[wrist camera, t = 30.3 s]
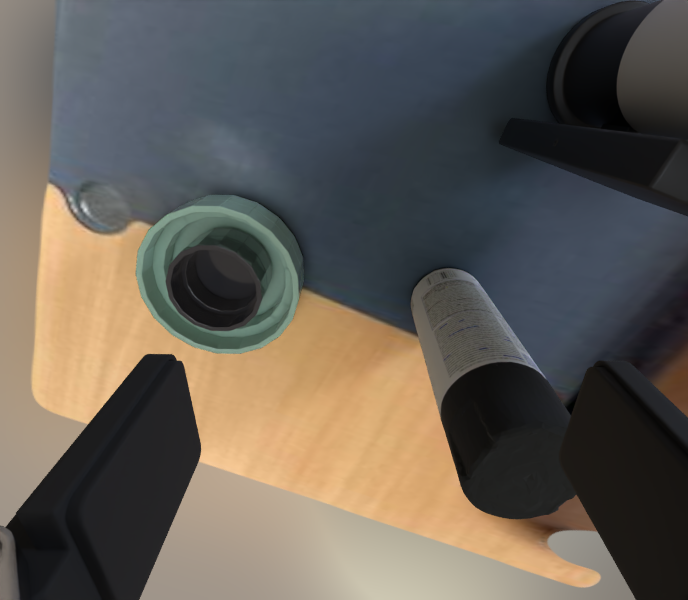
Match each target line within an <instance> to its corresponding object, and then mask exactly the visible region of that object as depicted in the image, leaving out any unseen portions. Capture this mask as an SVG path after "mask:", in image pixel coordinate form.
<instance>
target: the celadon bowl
mask: <svg viewBox="0 0 688 600" xmlns="http://www.w3.org/2000/svg"><path fill="white" fill-rule="evenodd" d="M214 228H234V229H236V230H239V231H241V232H244V233H246V234H249V235H250V236H252V237H253V238H254V239H255V240H256V241H257V242H258V243H259V244H261V245H262V246H263V248H264V249H265V251H266V253H267V255H268V257H269V259H270V261H271V268H272V279H271V282H270V285H269V288H268V290H267V293H266V295H265V297H264V299H263V301H262V304H261V306H260V308H259V310H258V313H257V314H256V316H255V317H254V318H252V319H251V320H250V321H249V322H248V323H247V324H246V325H245V326H242V327H240V328H237V329H234V330H231V331H210V330H207V329H204V328H201V327H199V326H196V325H193V324H192V323H191V322H190V321H188V320H187V319H186V318H184V317H183V316H182V315H180V314H179V313H178V311H177V310H176V308H175V307H174V305H173V304H172V302H171V301H170V299H169V296H168V291H167V287H166V276H167V272H168V268H169V265H170V263H171V262H172V261H173V260H174V259H175V258H176V256H177V255H178V254H179V253H180V252H181V251H182V250H183V249H184V248H186V247H187V246H188V245H189V244H190V243H191V242H192V241H194V240H195V239H196V238H197V237H198V236H199V235H201V234H203V233H205V232H207V231H210V230H212V229H214ZM136 277H137V281H138V285H139V289H140V293H141V297H142V299H143V300H144V302H145V304H146V305H147V307H148V309H149V310H150V312H151V314H152V315H153V317H154V318H155V319H156V320H157V321H158V322H159V323H160V324H161V325H162V326H163V327H164V328H165V329H166V330H167V331H168V332H169V333H170V334H172V335H173V336H175V337H177V338H178V339H180V340H182V341H184V342H185V343H187V344H189V345H191V346H193V347H195V348H199V349H203V350H206V351H210V352H213V353H226V354H241V353H244V352H248V351H252V350H256V349H259V348H262V347H264V346H265V345H267V344H268V343H270V342H271V341H273V340H275V339H276V338H278V337H279V336H280V335H281V334H282V333H283V331H284V330H285V329H286V327H287V326H288V325H289V324H290V322H291V321H292V319H293V317H294V314H295V310H296V307H297V304H298V301H299V297H300V294H301V290H302V286H303V283H304V263H303V257H302V254H301V251H300V249H299V246H298V244H297V241H296V239H295V237H294V235H293V234H292V233H291V231H290V230H289V229H288V228H287V226H286V225H285V224H284V223H283V221H282V220H281V219H280V218H279V217H278V216H276V215H275V214H273V213H272V212H270V211H269V210H267V209H266V208H265V207H263V206H262V205H260V204H258V203H257V202H254V201H251V200H247V199H244V198H241V197H238V196H235V195H207V196H204V197H201V198H198V199H195V200H192V201H189V202H187V203H185V204H183V205H182V206H180V207H179V208H177V209H175V210H174V211H172V212H170V213H169V214H167V215H166V216H165V217H163V218H162V219H161V220H160V221H159V222H157V223H156V224H155V225H154V226H153V227H151V228H150V229H149V230H148V232H147V234H146V236H145V238H144V240H143V242H142V244H141V246H140V248H139V249H138V255H137V265H136Z"/></svg>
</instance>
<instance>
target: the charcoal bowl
mask: <svg viewBox="0 0 688 600" xmlns="http://www.w3.org/2000/svg"><path fill="white" fill-rule="evenodd" d="M271 279H272V268H271V261H270V259H269V257H268V255H267V253H266V251H265V249H264V248H263V246H262V245H261V244H259V243H258V242H257V241H256V240H255V239H254V238H253V237H252V236H250V235H249V234H246V233H244V232H241V231H239V230H236V229H234V228H214V229H212V230H210V231H207V232H205V233H203V234H201V235H199V236H198V237H197V238H196V239H195V240H194V241H192V242H191V243H190V244H189V245H188V246H187V247H186V248H184V249H183V250H182V251H181V252H180V253H179V254H178V255H177V256H176V258H175V259H174V260H173V261H172V262H171V263H170V265H169V268H168V272H167V276H166V287H167V291H168V296H169V299H170V301H171V302H172V304H173V305H174V307H175V308H176V310H177V311H178V313H179V314H180V315H182V316H183V317H184V318H186V319H187V320H188V321H190V322H191V323H192V324H193V325H196V326H199V327H201V328H204V329H207V330H210V331H231V330H234V329H237V328H240V327H242V326H245V325H246V324H247V323H248V322H249V321H250V320H251V319H252V318H254V317H255V316H256V314H257V313H258V310H259V308H260V306H261V304H262V301H263V299H264V297H265V295H266V293H267V290H268V288H269V285H270V282H271Z"/></svg>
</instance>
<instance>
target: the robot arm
mask: <svg viewBox="0 0 688 600" xmlns="http://www.w3.org/2000/svg"><path fill="white" fill-rule="evenodd" d="M200 454H201V443H200V439H199V434H198V429H197V425H196V420H195V415H194V411H193V406H192V401H191V397H190V392H189V387H188V383H187V378H186V373H185V369H184V365H183V363H182V361H177V360H176V358H175V356H174V355H172V354H147V355H145V356H144V357H143V358H142V359H141V360H140V362H139V363H138V364H137V365H136V367H135V368H134V369H133V370H132V372H131V373H130V374H129V375H128V376H127V378H126V379H125V380H124V381H123V383H122V384H121V385H120V386H119V387H118V389H117V390H116V391H115V392H114V394H113V395H112V396H111V397H110V398H109V400H108V401H107V402H106V403H105V405H104V406H103V407H102V408H101V409H100V411H99V412H98V413H97V414H96V416H95V417H94V418H93V419H92V420H91V422H90V423H89V424H88V425H87V427H86V428H85V429H84V430H83V431H82V433H81V434H80V435H79V436H78V438H77V439H76V440H75V441H74V443H73V444H72V445H71V446H70V448H69V449H68V450H67V451H66V452H65V453H64V455H63V456H62V457H61V458H60V460H59V461H58V462H57V463H56V465H55V466H54V467H53V468H52V469H51V471H50V472H49V473H48V474H47V476H46V477H45V478H44V479H43V480H42V482H41V483H40V484H39V485H38V487H37V488H36V489H35V490H34V491H33V493H32V494H31V495H30V497H29V498H28V499H27V500H26V501H25V502H24V504H23V505H22V506H21V507H20V509H19V510H18V511H17V512H16V515H15V516H14V517H13V519H12V520H11V521H10V522H9V524H8V525H7V526H6V527H4V526H0V600H139V599H140V597H141V594H142V592H143V590H144V587H145V585H146V582H147V580H148V578H149V575H150V573H151V571H152V569H153V566H154V564H155V562H156V559H157V557H158V555H159V552H160V550H161V547H162V545H163V543H164V541H165V538H166V536H167V534H168V531H169V529H170V527H171V524H172V522H173V519H174V517H175V515H176V513H177V510H178V508H179V506H180V503H181V501H182V498H183V496H184V494H185V492H186V489H187V487H188V485H189V482H190V480H191V478H192V475H193V473H194V471H195V468H196V466H197V464H198V461H199V459H200ZM559 461H560V465H561V467H562V469H563V471H564V473H565V475H566V476H567V478H568V480H569V482H570V483H571V485H572V487H573V489H574V491H575V492H576V494H577V496H578V498H579V499H580V501H581V503H582V505H583V506H584V508H585V510H586V512H587V514H588V515H589V517H590V519H591V521H592V522H593V524H594V526H595V528H596V530H597V531H598V533H599V535H600V537H601V538H602V540H603V542H604V544H605V545H606V547H607V549H608V551H609V552H610V554H611V556H612V557H613V560H614V561H615V563H616V565H617V567H618V569H619V570H620V572H621V574H622V576H623V577H624V579H625V581H626V582H627V584H628V586H629V588H630V590H631V591H632V593H633V595H634V597H635V599H636V600H688V418H687V417H686V416H685V415H684V414H683V413H682V412H681V411H680V410H679V409H678V408H677V407H676V406H675V405H674V404H673V403H672V402H671V401H670V400H669V399H668V398H667V397H665V396H664V395H663V394H662V393H661V392H660V391H659V390H658V389H657V388H656V387H655V386H654V385H653V384H652V383H651V382H650V381H649V380H648V379H647V378H646V377H644V376H643V375H642V374H641V373H640V372H639V371H638V370H637V369H636V368H635V367H634V366H633V365H632V364H630V363H629V362H626V361H598V362H596V363H595V364H594V366H593V367H590V368H588V369H587V371H586V373H585V376H584V379H583V382H582V385H581V388H580V391H579V394H578V397H577V400H576V403H575V406H574V409H573V412H572V415H571V418H570V421H569V424H568V427H567V430H566V433H565V436H564V439H563V442H562V445H561V448H560V452H559Z"/></svg>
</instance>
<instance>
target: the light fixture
mask: <svg viewBox="0 0 688 600" xmlns="http://www.w3.org/2000/svg"><path fill="white" fill-rule="evenodd" d="M547 97H548V102H549V105H550V108H551V110H552V112H553V114H554V116H555V117H556V119H557V120H558V121H559V122H560V123H561V124H557V123H549V122H540V121H532V120H524V119H516V118H511V119H510V120H509V121H508V123H507V125H506V127H505V130H504V132H503V134H502V136H501V138H500V140H499V144H501V145H503V146H506V147H509V148H511V149H514V150H516V151H519V152H521V153H524V154H526V155H529V156H531V157H534V158H536V159H539V160H541V161H544V162H546V163H549V164H551V165H554V166H557V167H559V168H562V169H564V170H567V171H569V172H572V173H574V174H577V175H579V176H582V177H584V178H587V179H589V180H592V181H594V182H597V183H600V184H602V185H605V186H607V187H610V188H612V189H615V190H617V191H620V192H622V193H625V194H627V195H630V196H632V197H635V198H637V199H640V200H643V201H646V202H649V203H652V204H654V205H657V206H660V207H663V208H666V209H669V210H672V211H674V212H677V213H680V214H683V215H686V216H688V0H660V1H657V2H654V3H651V4H649V3H646V2H642V1H624V2H619V3H615V4H612V5H609V6H607V7H604V8H602V9H599V10H597V11H595V12H593V13H591V14H590V15H588V16H587V17H585V18H584V19H582V20H581V21H580V22H579V23H578V24H577V25H575V26H574V27H573V28H572V29H571V31H570V32H569V33H568V34H567V35H566V36H565V38H564V39H563V41H562V42H561V44H560V45H559V47H558V49H557V50H556V52H555V55H554V57H553V59H552V62H551V65H550V68H549V72H548V78H547ZM639 133H640V134H639Z"/></svg>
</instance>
